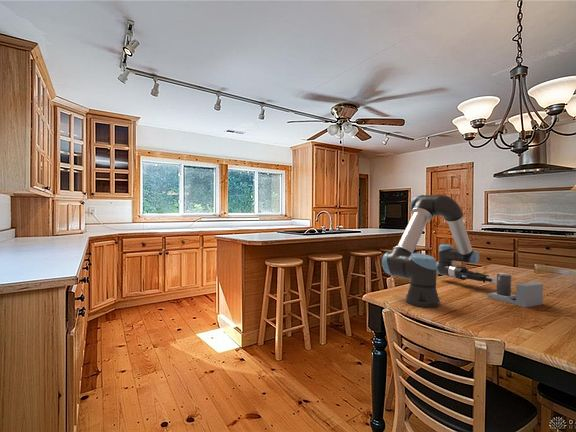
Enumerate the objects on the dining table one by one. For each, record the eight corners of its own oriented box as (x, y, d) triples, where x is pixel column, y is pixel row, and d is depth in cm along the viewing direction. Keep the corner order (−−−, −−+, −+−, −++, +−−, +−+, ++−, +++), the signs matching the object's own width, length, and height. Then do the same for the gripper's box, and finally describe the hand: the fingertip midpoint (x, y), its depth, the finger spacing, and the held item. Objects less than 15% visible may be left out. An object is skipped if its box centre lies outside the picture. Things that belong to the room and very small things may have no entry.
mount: (524, 307, 137) (525, 286, 137) (486, 296, 154) (487, 277, 154) (542, 304, 142) (543, 283, 141) (503, 294, 158) (504, 275, 158)
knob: (506, 299, 147) (507, 275, 147) (490, 295, 155) (491, 272, 154) (516, 298, 150) (517, 274, 150) (500, 293, 157) (501, 271, 157)
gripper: (466, 277, 180) (506, 287, 158) (450, 279, 175) (490, 289, 153) (466, 265, 180) (507, 273, 158) (451, 267, 175) (490, 275, 153)
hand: (498, 281), depth 156 cm, fingers closed
